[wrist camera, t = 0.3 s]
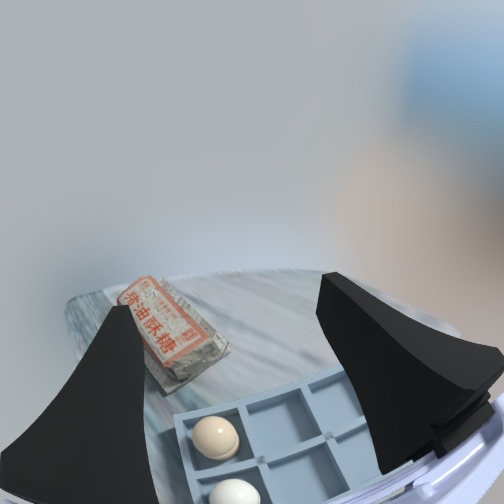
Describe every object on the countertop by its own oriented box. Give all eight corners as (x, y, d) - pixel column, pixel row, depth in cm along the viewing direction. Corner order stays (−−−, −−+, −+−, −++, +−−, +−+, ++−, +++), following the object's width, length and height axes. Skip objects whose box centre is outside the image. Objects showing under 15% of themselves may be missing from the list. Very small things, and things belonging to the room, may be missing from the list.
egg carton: (408, 463, 19) (420, 456, 17) (213, 538, 15) (206, 540, 13) (352, 370, 29) (358, 356, 27) (181, 424, 25) (172, 414, 24)
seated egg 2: (266, 512, 16) (264, 513, 14) (223, 522, 16) (212, 524, 13) (253, 477, 20) (248, 470, 17) (211, 487, 19) (198, 481, 16)
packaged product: (229, 328, 31) (155, 379, 26) (235, 352, 34) (169, 398, 29) (156, 260, 42) (101, 291, 37) (164, 283, 45) (113, 313, 40)
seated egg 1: (245, 456, 21) (239, 445, 19) (205, 466, 21) (191, 456, 18) (234, 422, 25) (226, 405, 22) (196, 431, 24) (182, 415, 21)
